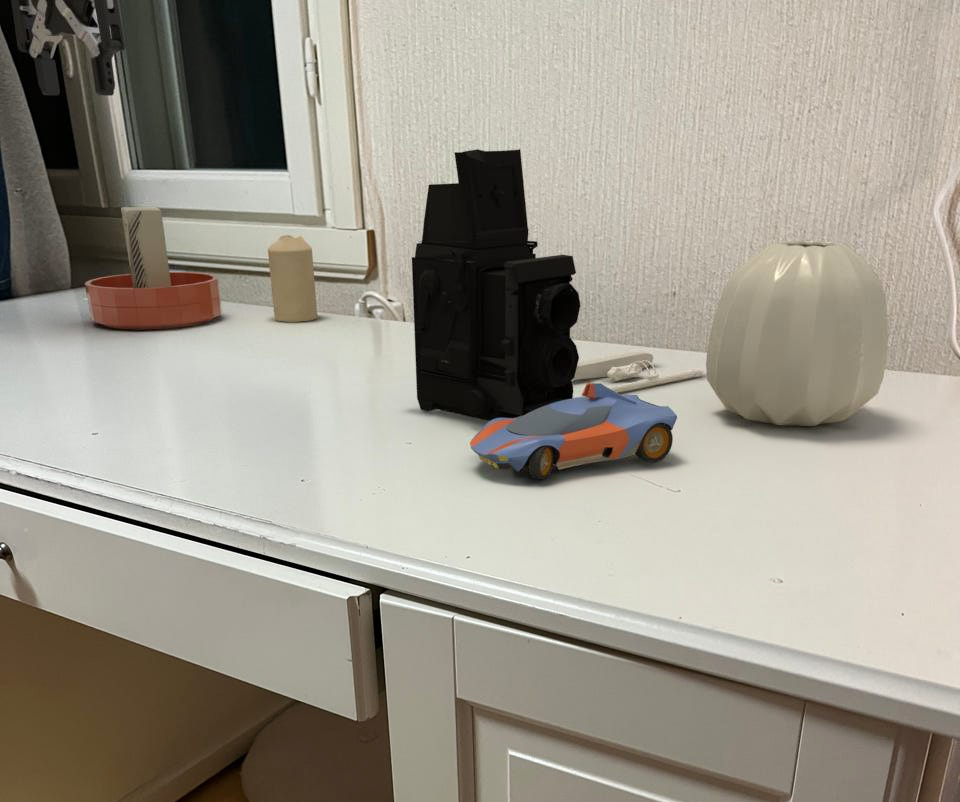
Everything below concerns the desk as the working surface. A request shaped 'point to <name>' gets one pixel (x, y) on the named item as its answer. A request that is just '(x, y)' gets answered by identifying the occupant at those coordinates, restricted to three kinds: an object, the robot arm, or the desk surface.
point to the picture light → (635, 370)
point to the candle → (292, 279)
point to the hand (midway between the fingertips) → (78, 95)
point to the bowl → (154, 302)
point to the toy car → (578, 433)
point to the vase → (799, 335)
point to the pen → (610, 364)
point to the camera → (489, 298)
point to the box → (146, 247)
